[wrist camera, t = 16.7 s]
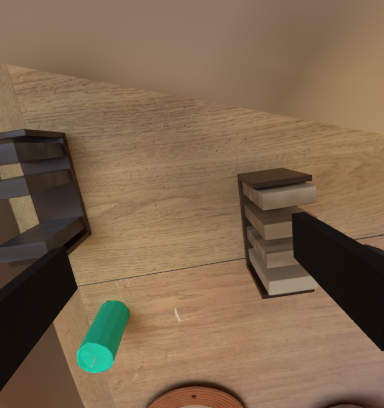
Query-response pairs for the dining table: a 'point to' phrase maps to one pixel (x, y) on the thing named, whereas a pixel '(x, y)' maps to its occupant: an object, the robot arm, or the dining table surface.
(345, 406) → the chamber pot
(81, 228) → the grey rack
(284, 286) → the cream book
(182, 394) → the ring
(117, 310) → the candle
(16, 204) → the dining table surface
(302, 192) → the cream rack
